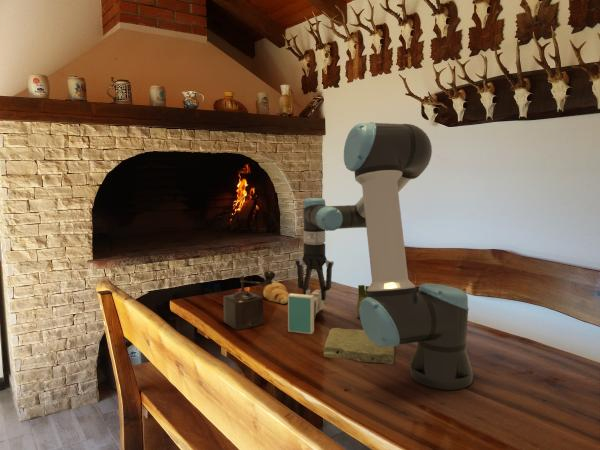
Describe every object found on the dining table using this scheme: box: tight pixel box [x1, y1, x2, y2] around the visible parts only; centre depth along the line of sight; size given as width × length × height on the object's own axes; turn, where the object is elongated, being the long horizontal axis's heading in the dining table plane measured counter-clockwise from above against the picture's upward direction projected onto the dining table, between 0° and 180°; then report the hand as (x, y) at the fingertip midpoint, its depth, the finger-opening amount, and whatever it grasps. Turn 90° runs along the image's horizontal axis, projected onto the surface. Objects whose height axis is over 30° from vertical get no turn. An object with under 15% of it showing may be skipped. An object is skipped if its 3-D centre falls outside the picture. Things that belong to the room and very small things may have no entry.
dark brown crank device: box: [222, 270, 276, 331], centre depth 155 cm, size 16×11×18 cm
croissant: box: [262, 281, 290, 305], centre depth 184 cm, size 21×10×8 cm, turn 27°
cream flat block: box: [287, 293, 315, 335], centre depth 146 cm, size 3×8×12 cm, turn 71°
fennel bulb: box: [356, 284, 370, 319], centre depth 159 cm, size 6×5×12 cm
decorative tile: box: [323, 327, 396, 365], centre depth 133 cm, size 19×20×4 cm
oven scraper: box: [310, 289, 327, 320], centre depth 159 cm, size 18×6×5 cm, turn 161°
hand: (314, 308), depth 160 cm, fingers closed on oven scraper, 4 cm apart
